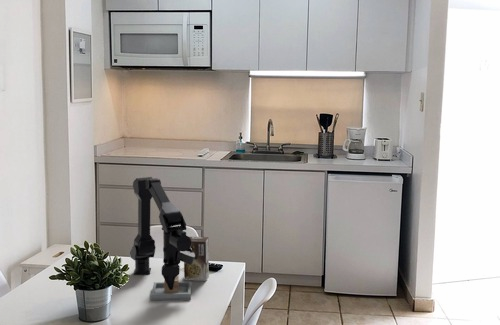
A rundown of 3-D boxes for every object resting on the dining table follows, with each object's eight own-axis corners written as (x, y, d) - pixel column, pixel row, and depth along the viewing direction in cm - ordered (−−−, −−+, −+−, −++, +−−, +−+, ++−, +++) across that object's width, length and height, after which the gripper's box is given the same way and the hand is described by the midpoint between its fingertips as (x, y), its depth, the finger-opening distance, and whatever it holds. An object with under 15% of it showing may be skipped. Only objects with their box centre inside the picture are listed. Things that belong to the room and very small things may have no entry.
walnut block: (165, 289, 211) (165, 276, 210) (178, 288, 211) (178, 276, 211) (164, 294, 206) (164, 281, 205) (178, 293, 206) (178, 280, 206)
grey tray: (153, 287, 214) (153, 282, 214) (191, 287, 215) (191, 281, 215) (151, 300, 202) (151, 294, 202) (190, 299, 203) (190, 293, 203)
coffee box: (209, 275, 228) (209, 236, 226) (206, 281, 222) (206, 241, 219) (186, 274, 229) (186, 235, 226) (183, 280, 223) (183, 240, 220)
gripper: (193, 251, 197) (193, 294, 200) (193, 236, 216) (193, 275, 218) (161, 252, 196) (161, 295, 199) (164, 237, 215) (164, 276, 217)
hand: (171, 285), depth 208 cm, fingers open, 9 cm apart
